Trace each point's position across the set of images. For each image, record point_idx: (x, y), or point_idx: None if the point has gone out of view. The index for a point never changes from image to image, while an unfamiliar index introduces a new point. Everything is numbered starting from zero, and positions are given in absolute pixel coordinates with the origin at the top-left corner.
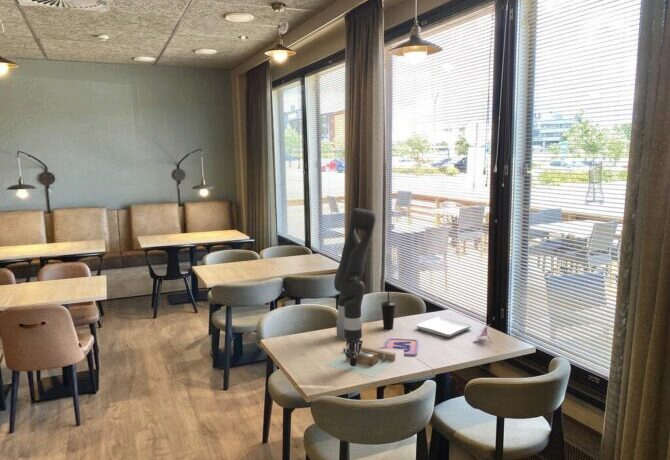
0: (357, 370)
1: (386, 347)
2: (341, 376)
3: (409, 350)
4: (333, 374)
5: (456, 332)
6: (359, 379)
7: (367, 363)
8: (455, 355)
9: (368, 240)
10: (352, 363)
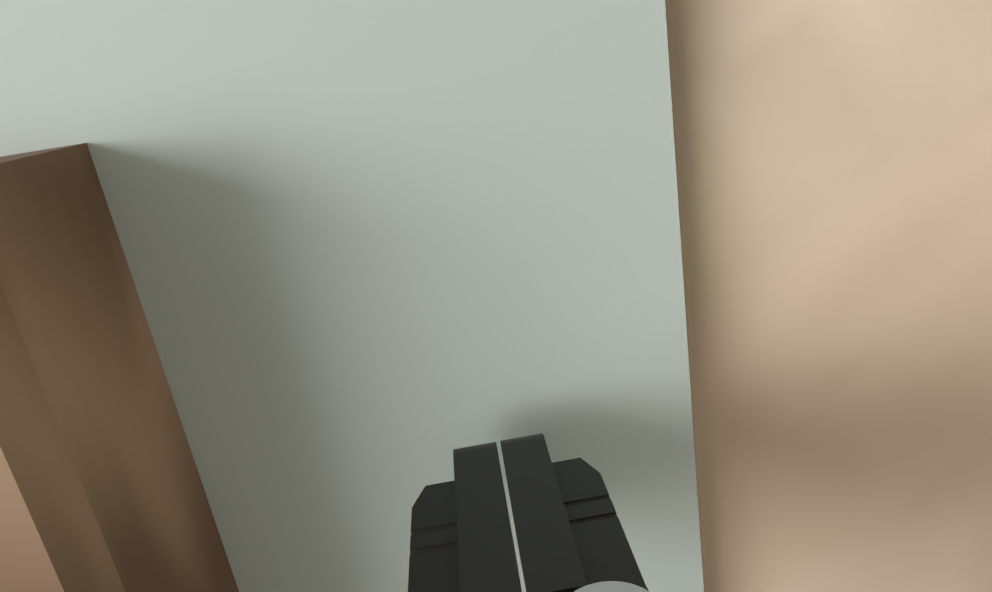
0: (552, 296)
1: None
2: (879, 410)
3: None
4: (875, 565)
5: None
6: (818, 8)
7: (110, 313)
8: None
9: None
10: (607, 508)
